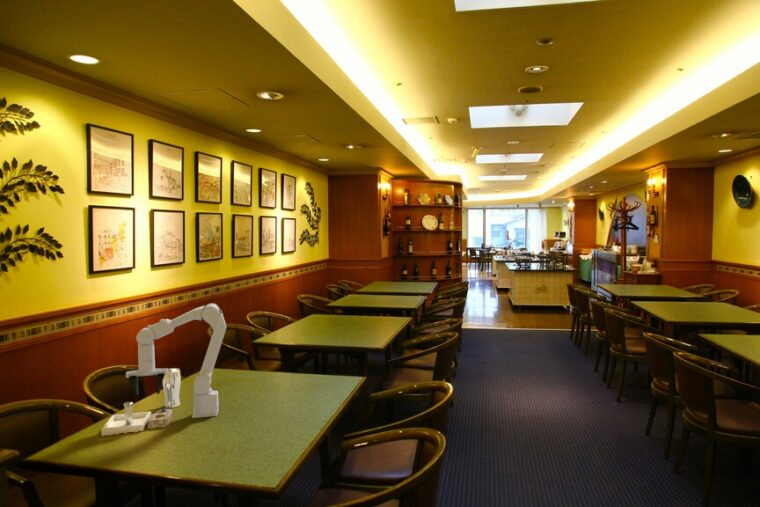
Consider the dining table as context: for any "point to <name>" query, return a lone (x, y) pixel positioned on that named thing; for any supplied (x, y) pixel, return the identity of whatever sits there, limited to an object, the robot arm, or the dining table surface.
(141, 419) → the tray
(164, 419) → the block
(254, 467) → the dining table surface
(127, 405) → the pin
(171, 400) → the beer glass
